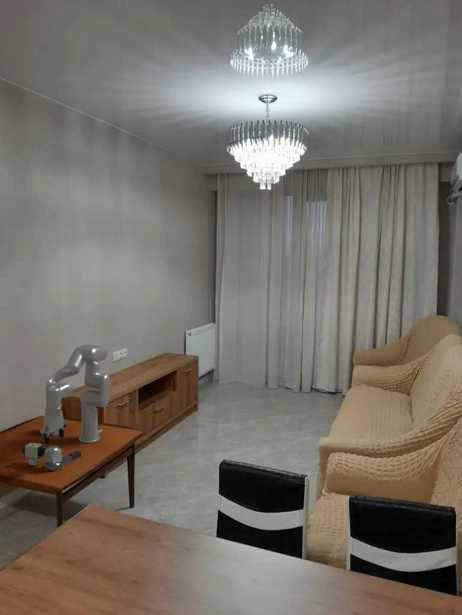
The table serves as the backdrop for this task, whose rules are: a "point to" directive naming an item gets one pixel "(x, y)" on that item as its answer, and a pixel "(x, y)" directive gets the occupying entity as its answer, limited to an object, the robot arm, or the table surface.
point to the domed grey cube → (53, 455)
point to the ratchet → (63, 461)
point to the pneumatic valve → (33, 452)
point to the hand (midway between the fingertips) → (54, 440)
